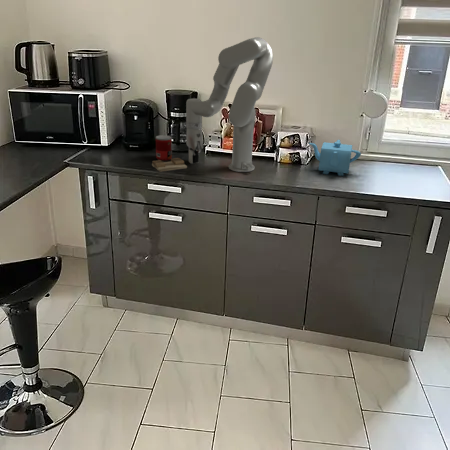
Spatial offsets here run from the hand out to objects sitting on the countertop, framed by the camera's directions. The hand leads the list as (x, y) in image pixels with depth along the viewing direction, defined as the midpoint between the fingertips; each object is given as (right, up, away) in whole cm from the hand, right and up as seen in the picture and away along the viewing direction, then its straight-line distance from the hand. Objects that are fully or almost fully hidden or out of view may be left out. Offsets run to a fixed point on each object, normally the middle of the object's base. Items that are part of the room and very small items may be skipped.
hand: (193, 161), depth 243 cm
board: (-11, -4, -8) cm, 14 cm away
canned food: (-16, +2, +5) cm, 16 cm away
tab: (0, 0, 0) cm, 1 cm away
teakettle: (+67, -6, -6) cm, 68 cm away
